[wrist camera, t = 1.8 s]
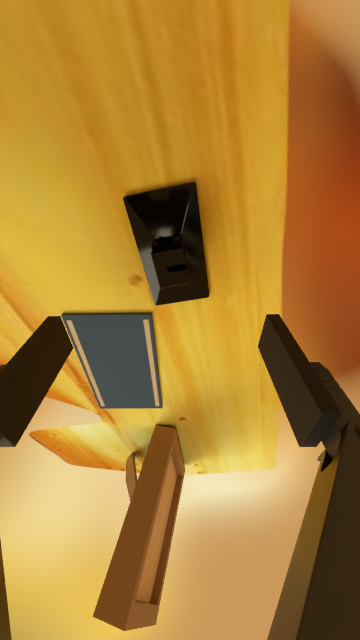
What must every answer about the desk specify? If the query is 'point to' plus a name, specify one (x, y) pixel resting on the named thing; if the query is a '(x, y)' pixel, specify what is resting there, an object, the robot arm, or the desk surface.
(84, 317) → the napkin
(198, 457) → the desk surface
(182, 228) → the build plate
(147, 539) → the photo frame
